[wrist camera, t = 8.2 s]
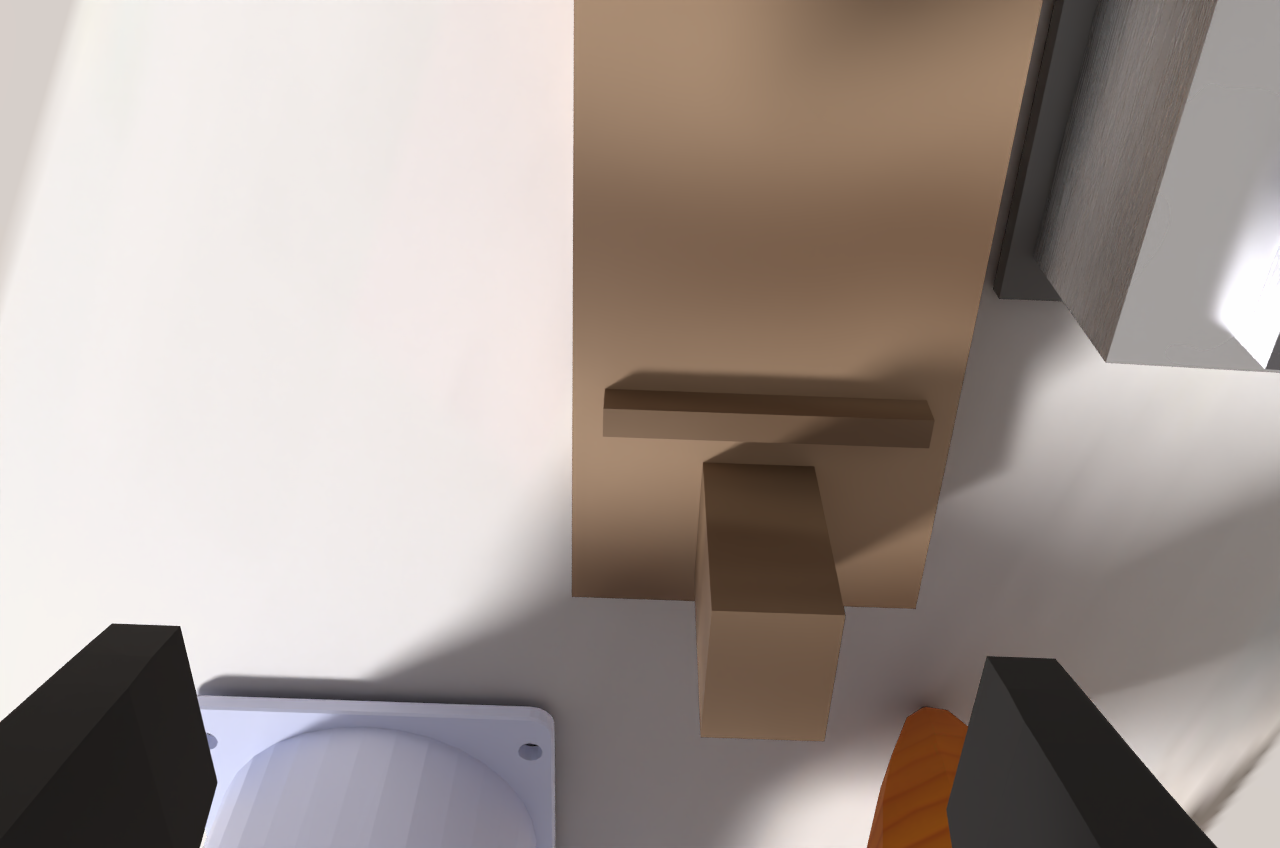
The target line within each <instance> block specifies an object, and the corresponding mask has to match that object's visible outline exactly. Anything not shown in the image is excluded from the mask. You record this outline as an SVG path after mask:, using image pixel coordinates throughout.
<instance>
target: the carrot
mask: <svg viewBox="0 0 1280 848" xmlns="http://www.w3.org/2000/svg"><path fill="white" fill-rule="evenodd" d="M967 729H968V726H967V725H965V724H964V723H963V722H962V721H960V720H959V719H958V718H957V717H955V716H954V715H953V714H952V713H950V712H949V711H948V710H944V709H937V708H931V707H923V708H921V709H919V710H918V711H916V712H915V713H913V714H912V715H910V716H908V717H907V718H906V721H905V723H904V726H903V728H902V731H901V733H900V736H899V738H898V741H897V743H896V746H895V748H894V751H893V753H892V756H891V759H890V762H889V765H888V768H887V771H886V774H885V777H884V780H883V782H882V785H881V788H880V793H879V797H878V801H877V806H876V810H875V814H874V819H873V823H872V827H871V832H870V836H869V840H868V845H867V848H952V844H951V838H950V831H949V825H948V818H947V811H946V808H947V805H948V801H949V797H950V793H951V790H952V786H953V782H954V778H955V775H956V771H957V767H958V763H959V760H960V756H961V752H962V748H963V744H964V741H965V737H966V733H967Z"/></svg>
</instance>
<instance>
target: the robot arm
mask: <svg viewBox="0 0 1280 848" xmlns="http://www.w3.org/2000/svg"><path fill="white" fill-rule="evenodd" d="M206 733H210V734H211V735H207V734H206ZM212 735H213V736H212ZM529 743H531V744H536V745H538V746H534V747H531V746H527V745H525V744H529ZM946 811H947V818H948V825H949V831H950V838H951V844H952V848H1217V847H1216V846H1215V844H1214V843H1213V842H1212V841H1211V840H1210V839H1209V838H1208V837H1207V836H1206V834H1205V833H1204V832H1203V831H1202V830H1201V829H1200V828H1199V827H1198V826H1197V824H1196V823H1195V822H1194V821H1193V820H1192V819H1191V818H1190V817H1189V816H1188V814H1187V813H1186V812H1185V811H1184V810H1183V809H1182V807H1181V806H1180V805H1179V804H1178V803H1177V802H1176V801H1175V799H1174V798H1173V797H1172V796H1171V795H1170V794H1169V793H1168V791H1167V790H1166V789H1165V788H1164V787H1163V786H1162V784H1161V783H1160V782H1159V781H1158V780H1157V779H1156V777H1155V776H1154V775H1153V774H1152V773H1151V772H1150V770H1149V769H1148V768H1147V767H1146V766H1145V764H1144V763H1143V762H1142V761H1141V760H1140V759H1139V757H1138V756H1137V755H1136V754H1135V753H1134V752H1133V750H1132V749H1131V748H1130V747H1129V746H1128V744H1127V743H1126V742H1125V741H1124V740H1123V738H1122V737H1121V736H1120V735H1119V734H1118V733H1117V731H1116V730H1115V729H1114V728H1113V727H1112V725H1111V724H1110V723H1109V722H1108V721H1107V719H1106V718H1105V717H1104V716H1103V715H1102V713H1101V712H1100V711H1099V710H1098V709H1097V707H1096V706H1095V705H1094V704H1093V703H1092V701H1091V700H1090V699H1089V698H1088V697H1087V695H1086V694H1085V693H1084V692H1083V691H1082V690H1081V688H1080V687H1079V686H1078V685H1077V684H1076V682H1075V681H1074V680H1073V679H1072V678H1071V677H1070V675H1069V674H1068V673H1067V672H1066V671H1065V670H1064V668H1063V667H1062V666H1061V665H1060V664H1059V663H1058V662H1057V660H1056V659H1046V658H1019V657H992V656H987V658H986V662H985V665H984V669H983V673H982V677H981V680H980V684H979V688H978V692H977V696H976V699H975V703H974V707H973V711H972V714H971V718H970V722H969V726H968V729H967V733H966V737H965V741H964V744H963V748H962V752H961V756H960V760H959V763H958V767H957V771H956V775H955V778H954V782H953V786H952V790H951V793H950V797H949V801H948V805H947V808H946ZM204 830H206V834H207V839H206V841H205V844H204V846H203V848H555V724H554V720H553V718H552V716H551V715H550V714H549V713H548V712H546V711H544V710H542V709H540V708H536V707H525V706H496V705H467V704H438V703H409V702H380V701H351V700H321V699H292V698H263V697H234V696H205V695H203V696H197V694H196V690H195V686H194V682H193V677H192V673H191V669H190V665H189V661H188V657H187V653H186V648H185V644H184V640H183V636H182V632H181V628H180V626H163V625H136V624H111V625H110V626H109V627H108V628H106V629H105V630H104V631H103V632H102V633H101V634H99V635H98V636H97V637H96V638H95V639H94V640H92V641H91V642H90V643H89V644H88V645H87V646H86V647H84V648H83V649H82V650H81V651H80V652H79V653H78V654H76V655H75V656H74V657H73V658H72V659H71V660H70V661H69V662H67V663H66V664H65V665H64V666H63V667H62V668H61V669H59V670H58V671H57V672H56V673H55V674H54V675H53V676H52V677H50V678H49V679H48V680H47V681H46V682H45V683H44V684H43V685H41V686H40V687H39V688H38V689H37V690H36V691H35V692H34V693H32V694H31V695H30V696H29V697H28V698H27V699H26V700H25V701H23V702H22V703H21V704H20V705H19V706H18V707H17V708H16V709H14V710H13V711H12V712H11V713H10V714H9V715H8V716H7V717H5V718H4V719H3V720H2V721H1V722H0V848H200V845H201V841H202V838H203V834H204Z"/></svg>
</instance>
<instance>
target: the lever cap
mask: <svg viewBox="0 0 1280 848" xmlns="http://www.w3.org/2000/svg"><path fill="white" fill-rule="evenodd" d="M1033 258H1034V260H1035V261H1036V263H1037V264H1038V266H1039V267H1040V269H1041V270H1042V271H1043V273H1044V274H1045V276H1046V277H1047V279H1048V280H1049V282H1050V283H1051V284H1052V286H1053V287H1054V289H1055V290H1056V292H1057V293H1058V295H1059V296H1060V297H1061V299H1062V300H1063V302H1064V303H1065V305H1066V306H1067V308H1068V309H1069V310H1070V312H1071V313H1072V315H1073V316H1074V318H1075V319H1076V321H1077V322H1078V323H1079V325H1080V326H1081V328H1082V329H1083V331H1084V332H1085V333H1086V335H1087V336H1088V338H1089V339H1090V341H1091V342H1092V344H1093V345H1094V346H1095V348H1096V349H1097V351H1098V352H1099V354H1100V355H1101V357H1102V358H1103V359H1104V361H1105V362H1106V363H1120V364H1137V365H1155V366H1172V367H1189V368H1207V369H1224V370H1241V371H1259V372H1276V373H1280V0H1099V1H1098V5H1097V9H1096V12H1095V16H1094V20H1093V24H1092V28H1091V32H1090V36H1089V40H1088V44H1087V47H1086V51H1085V55H1084V59H1083V63H1082V67H1081V71H1080V75H1079V79H1078V83H1077V86H1076V90H1075V94H1074V98H1073V102H1072V106H1071V110H1070V114H1069V118H1068V122H1067V125H1066V129H1065V133H1064V137H1063V141H1062V145H1061V149H1060V153H1059V157H1058V161H1057V164H1056V168H1055V172H1054V176H1053V180H1052V184H1051V188H1050V192H1049V196H1048V199H1047V203H1046V207H1045V211H1044V215H1043V219H1042V223H1041V227H1040V231H1039V235H1038V238H1037V242H1036V246H1035V250H1034V254H1033Z"/></svg>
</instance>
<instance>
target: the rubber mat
mask: <svg viewBox="0 0 1280 848" xmlns="http://www.w3.org/2000/svg"><path fill="white" fill-rule="evenodd" d="M1098 1H1099V0H1055V3H1054V8H1053V12H1052V17H1051V22H1050V26H1049V31H1048V36H1047V40H1046V45H1045V50H1044V54H1043V59H1042V64H1041V68H1040V73H1039V78H1038V82H1037V87H1036V92H1035V96H1034V101H1033V105H1032V110H1031V115H1030V119H1029V124H1028V129H1027V133H1026V138H1025V143H1024V147H1023V152H1022V157H1021V161H1020V166H1019V171H1018V175H1017V180H1016V185H1015V189H1014V194H1013V199H1012V203H1011V208H1010V213H1009V217H1008V222H1007V227H1006V231H1005V236H1004V241H1003V245H1002V250H1001V255H1000V259H999V264H998V269H997V273H996V278H995V282H994V287H993V289H994V291H995V293H996V294H997V296H998V298H999V299H1019V300H1046V301H1063V300H1062V299H1061V297H1060V296H1059V295H1058V293H1057V292H1056V290H1055V289H1054V287H1053V286H1052V284H1051V283H1050V282H1049V280H1048V279H1047V277H1046V276H1045V274H1044V273H1043V271H1042V270H1041V269H1040V267H1039V266H1038V264H1037V263H1036V261H1035V260H1034V258H1033V254H1034V250H1035V246H1036V242H1037V238H1038V235H1039V231H1040V227H1041V223H1042V219H1043V215H1044V211H1045V207H1046V203H1047V199H1048V196H1049V192H1050V188H1051V184H1052V180H1053V176H1054V172H1055V168H1056V164H1057V161H1058V157H1059V153H1060V149H1061V145H1062V141H1063V137H1064V133H1065V129H1066V125H1067V122H1068V118H1069V114H1070V110H1071V106H1072V102H1073V98H1074V94H1075V90H1076V86H1077V83H1078V79H1079V75H1080V71H1081V67H1082V63H1083V59H1084V55H1085V51H1086V47H1087V44H1088V40H1089V36H1090V32H1091V28H1092V24H1093V20H1094V16H1095V12H1096V9H1097V5H1098Z"/></svg>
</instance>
